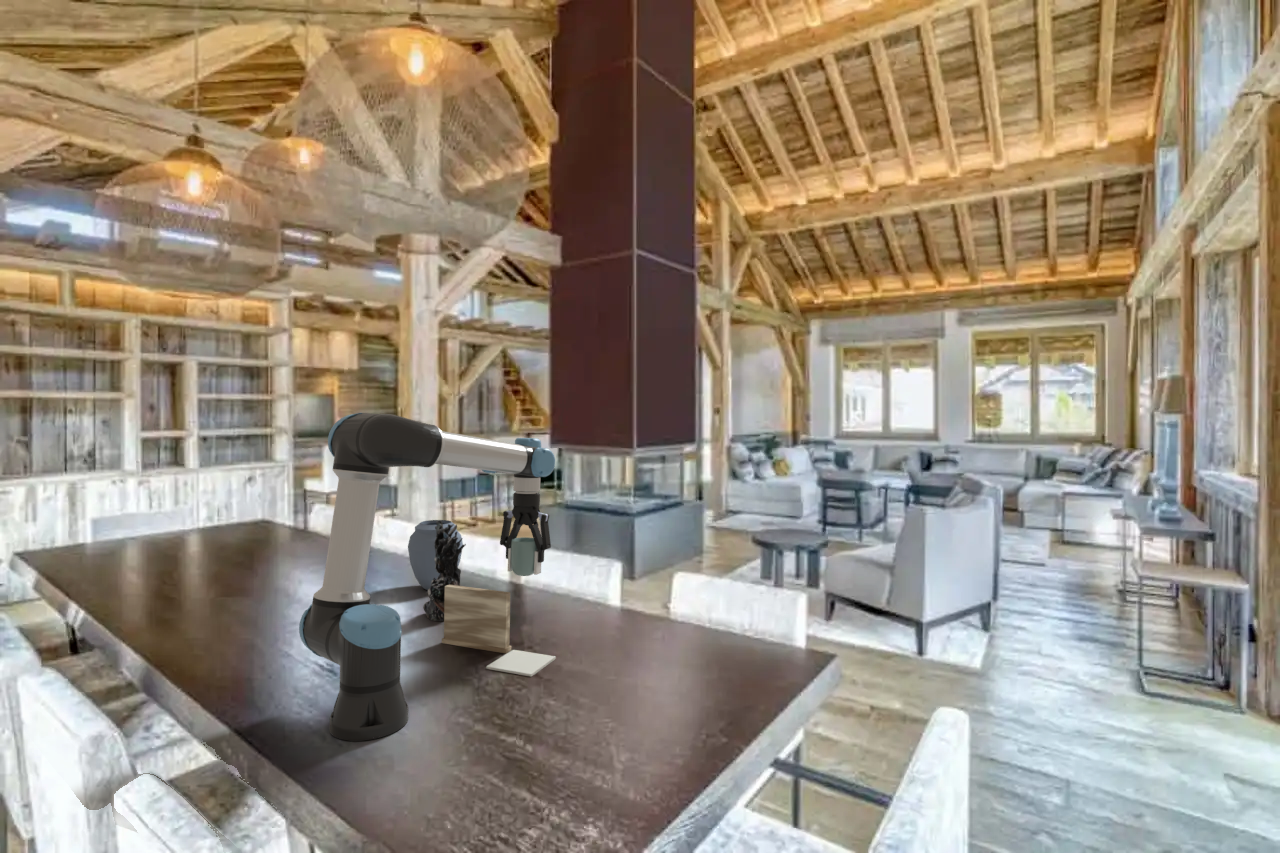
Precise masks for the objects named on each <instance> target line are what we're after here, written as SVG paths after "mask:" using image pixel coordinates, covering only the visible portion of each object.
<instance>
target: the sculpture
mask: <svg viewBox="0 0 1280 853" xmlns="http://www.w3.org/2000/svg"><path fill="white" fill-rule="evenodd" d="M437 520H438V521H436V523H437V526H435V529H436V534H437V535H436V539H435V543H434V547H435V552H436V553H435V569H436V571H437V573H440V575H439V576H438V577H437V579H435V578H433V579H432V582H431V588H430V589H429V590H427V596H428V597H429V598H428V599H429V600H428V601H427V602H425V603H423V606H422V609H423V611H424V612H425V615H426V618H427V619H429V620H430V621H438V622H444V601H445V586H447V585H456V586H461V573H462V570H461V569H460V568H459V566H457V563H458V556H459V554H460V553H461V552H462V553H463V549H464V548H465V547H466V546H467V544H466V543H464V544H463V545H462V546H461V547H460V548H459V546H460V544H459V543H460V542H461V540H462V541H463V538H464V537H462V539H461V540H460V541H459V542H457V543H456V541H457V539H458V538H457V532H459V530H457V532H455V536H454V537H451V536H452V534H453V533H454V531H455V530H456V528H458V524H455V523H454V524H455V525H456V526H454V528H453V529H452V530H451V531H450V528H451V527H452V526H453V525H454V524H452V525H450V524H448V527H446V528H443V524H442V521H441V520H442V519H437ZM449 531H450V533H449ZM458 548H459V549H458Z"/></svg>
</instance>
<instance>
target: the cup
mask: <svg viewBox="0 0 1280 853" xmlns="http://www.w3.org/2000/svg"><path fill="white" fill-rule="evenodd" d="M536 550H537V547H536V544H535V541H534V538H533V537H525V536H524V537H523V536H522V537H516V538H515V539H512V541H511V566H512V570H513V571H512V572H513V574H514V575H516V576H519V577H529V576H532V575H534V557H535V551H536Z"/></svg>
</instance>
